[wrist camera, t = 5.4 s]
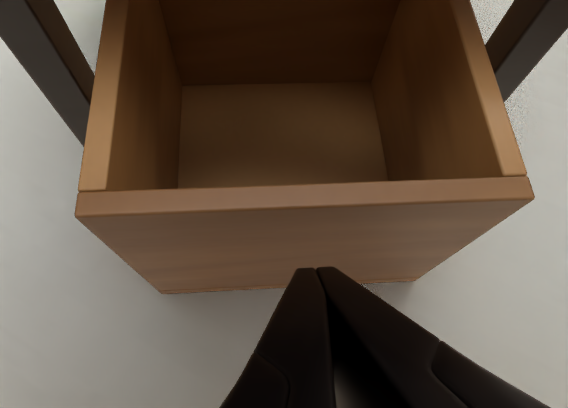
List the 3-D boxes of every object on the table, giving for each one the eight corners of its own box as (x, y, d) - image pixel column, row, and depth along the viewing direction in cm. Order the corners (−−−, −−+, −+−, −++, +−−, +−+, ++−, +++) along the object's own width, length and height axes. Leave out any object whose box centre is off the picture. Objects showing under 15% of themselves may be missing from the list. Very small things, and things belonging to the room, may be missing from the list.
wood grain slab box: (415, 281, 17) (537, 198, 9) (160, 294, 16) (72, 217, 9) (377, 80, 20) (441, -89, 13) (172, 84, 20) (119, -91, 13)
